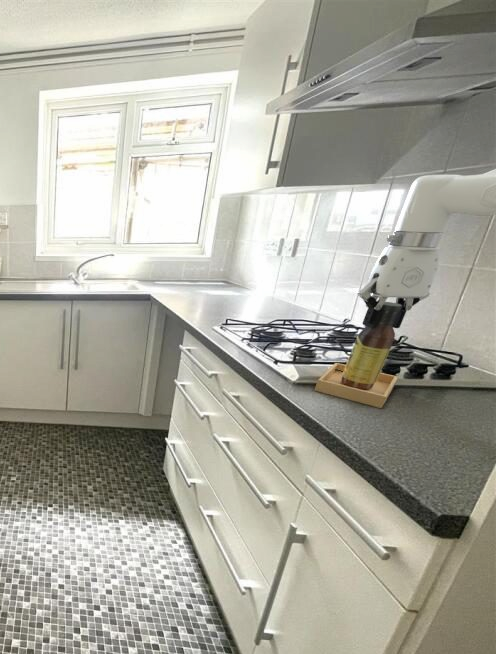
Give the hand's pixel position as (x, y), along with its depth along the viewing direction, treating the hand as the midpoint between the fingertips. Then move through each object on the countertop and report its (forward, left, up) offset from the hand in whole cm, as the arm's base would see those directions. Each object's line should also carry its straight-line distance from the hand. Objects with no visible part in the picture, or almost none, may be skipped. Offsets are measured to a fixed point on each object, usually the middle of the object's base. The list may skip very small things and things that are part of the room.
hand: (380, 325), depth 94 cm
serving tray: (0, 0, -16) cm, 16 cm away
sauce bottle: (0, 0, -15) cm, 15 cm away
